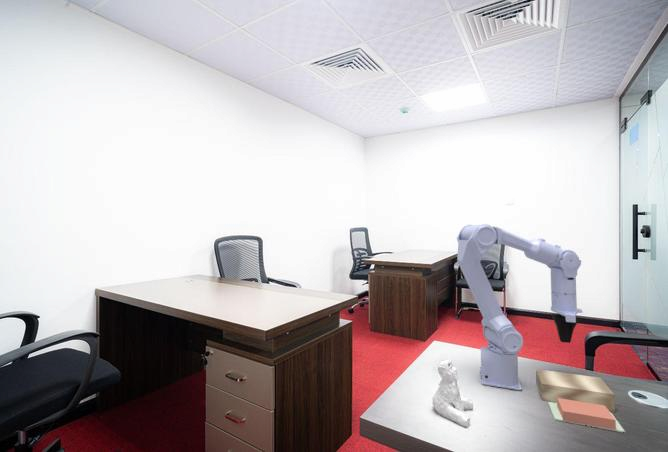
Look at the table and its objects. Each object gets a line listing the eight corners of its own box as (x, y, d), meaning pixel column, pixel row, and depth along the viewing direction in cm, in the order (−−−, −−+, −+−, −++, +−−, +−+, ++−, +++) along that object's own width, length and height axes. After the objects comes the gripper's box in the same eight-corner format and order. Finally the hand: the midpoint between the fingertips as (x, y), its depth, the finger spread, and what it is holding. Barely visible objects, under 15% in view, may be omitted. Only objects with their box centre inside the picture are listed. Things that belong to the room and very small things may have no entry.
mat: (554, 419, 71) (554, 418, 71) (548, 403, 78) (548, 401, 78) (624, 432, 66) (624, 431, 66) (610, 413, 73) (610, 412, 73)
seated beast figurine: (469, 429, 68) (468, 372, 68) (428, 419, 72) (426, 365, 72) (473, 407, 76) (472, 356, 77) (436, 399, 80) (435, 351, 81)
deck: (542, 400, 79) (541, 383, 79) (536, 384, 87) (535, 369, 87) (614, 412, 73) (614, 394, 73) (600, 393, 81) (600, 377, 81)
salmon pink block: (556, 397, 76) (557, 406, 75) (563, 411, 70) (563, 420, 70) (604, 405, 72) (605, 414, 72) (615, 420, 66) (615, 429, 66)
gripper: (589, 298, 81) (591, 352, 81) (573, 288, 95) (575, 335, 94) (556, 297, 84) (557, 349, 84) (545, 287, 98) (546, 332, 97)
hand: (565, 341), depth 89 cm, fingers closed
